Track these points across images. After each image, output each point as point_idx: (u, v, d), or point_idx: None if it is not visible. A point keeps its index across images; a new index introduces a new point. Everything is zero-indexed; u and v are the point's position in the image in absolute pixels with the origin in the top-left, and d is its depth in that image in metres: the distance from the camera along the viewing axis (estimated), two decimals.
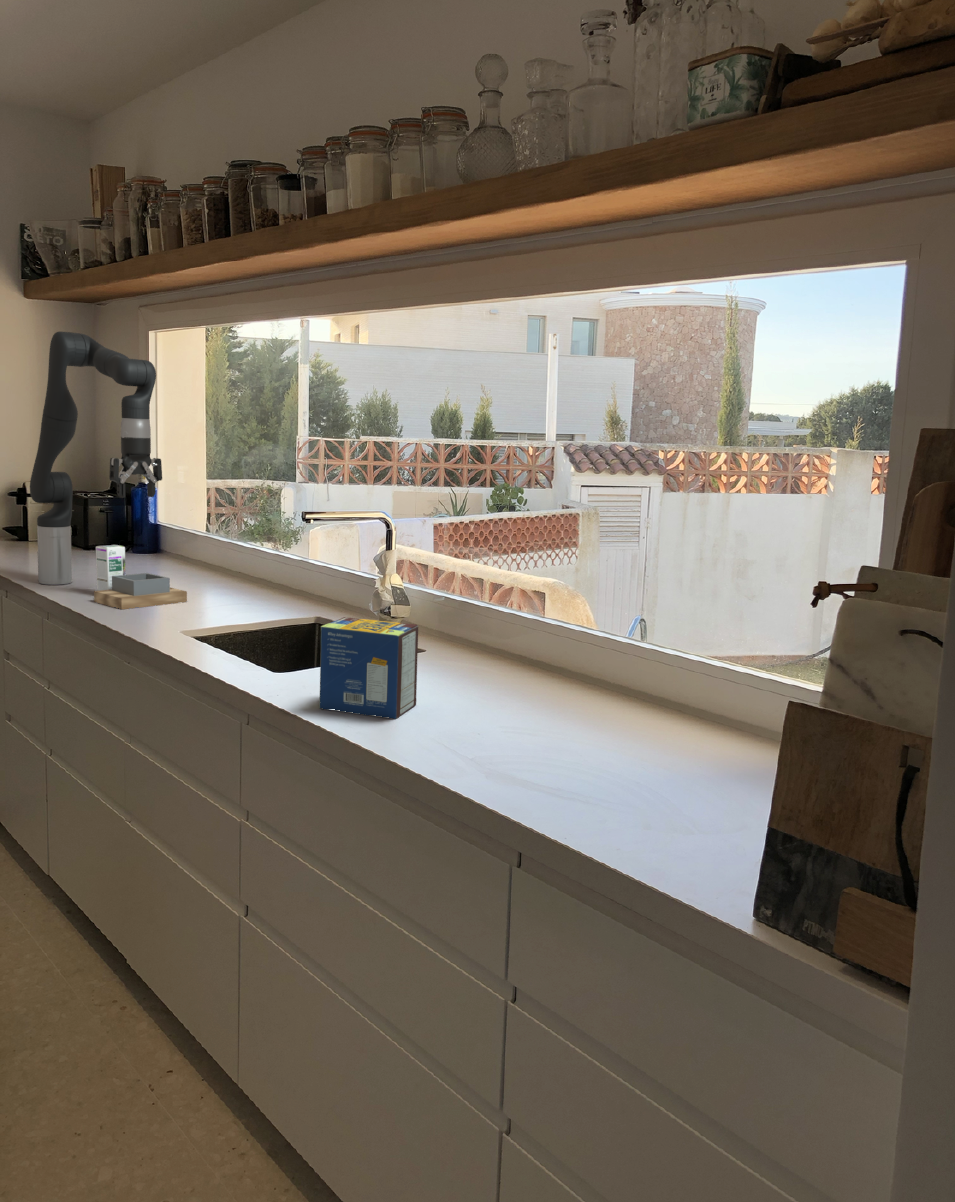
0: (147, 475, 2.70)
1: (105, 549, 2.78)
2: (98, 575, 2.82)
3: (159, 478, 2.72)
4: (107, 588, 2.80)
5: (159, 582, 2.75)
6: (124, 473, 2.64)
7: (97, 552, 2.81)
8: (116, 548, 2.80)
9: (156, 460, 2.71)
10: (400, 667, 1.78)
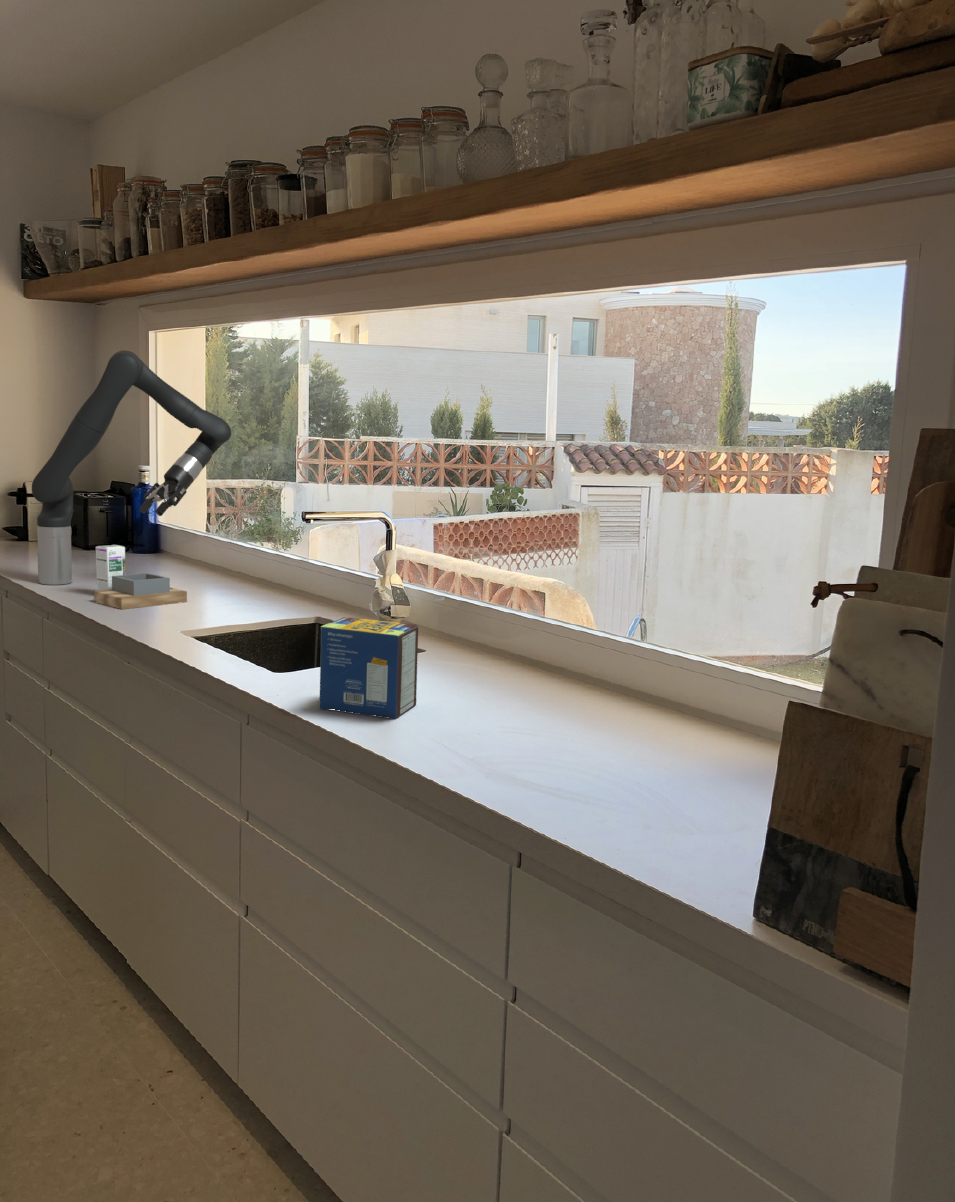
0: (157, 499, 2.94)
1: (105, 549, 2.78)
2: (98, 575, 2.82)
3: None
4: (107, 588, 2.80)
5: (159, 582, 2.75)
6: None
7: (97, 552, 2.81)
8: (116, 548, 2.80)
9: None
10: (400, 667, 1.78)
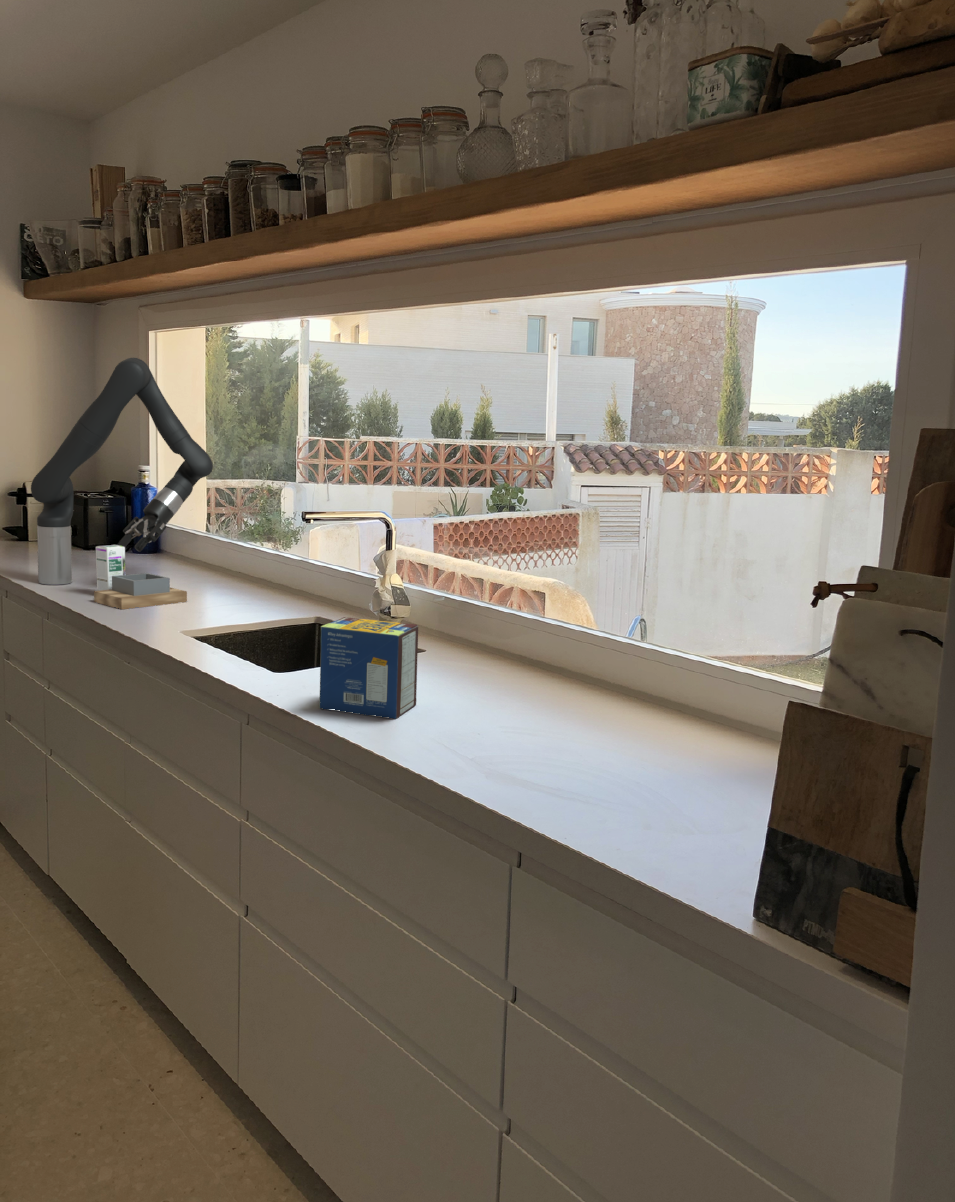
0: (137, 533, 2.91)
1: (105, 549, 2.78)
2: (98, 575, 2.82)
3: None
4: (107, 588, 2.80)
5: (159, 582, 2.75)
6: None
7: (97, 552, 2.81)
8: (116, 548, 2.80)
9: None
10: (400, 667, 1.78)
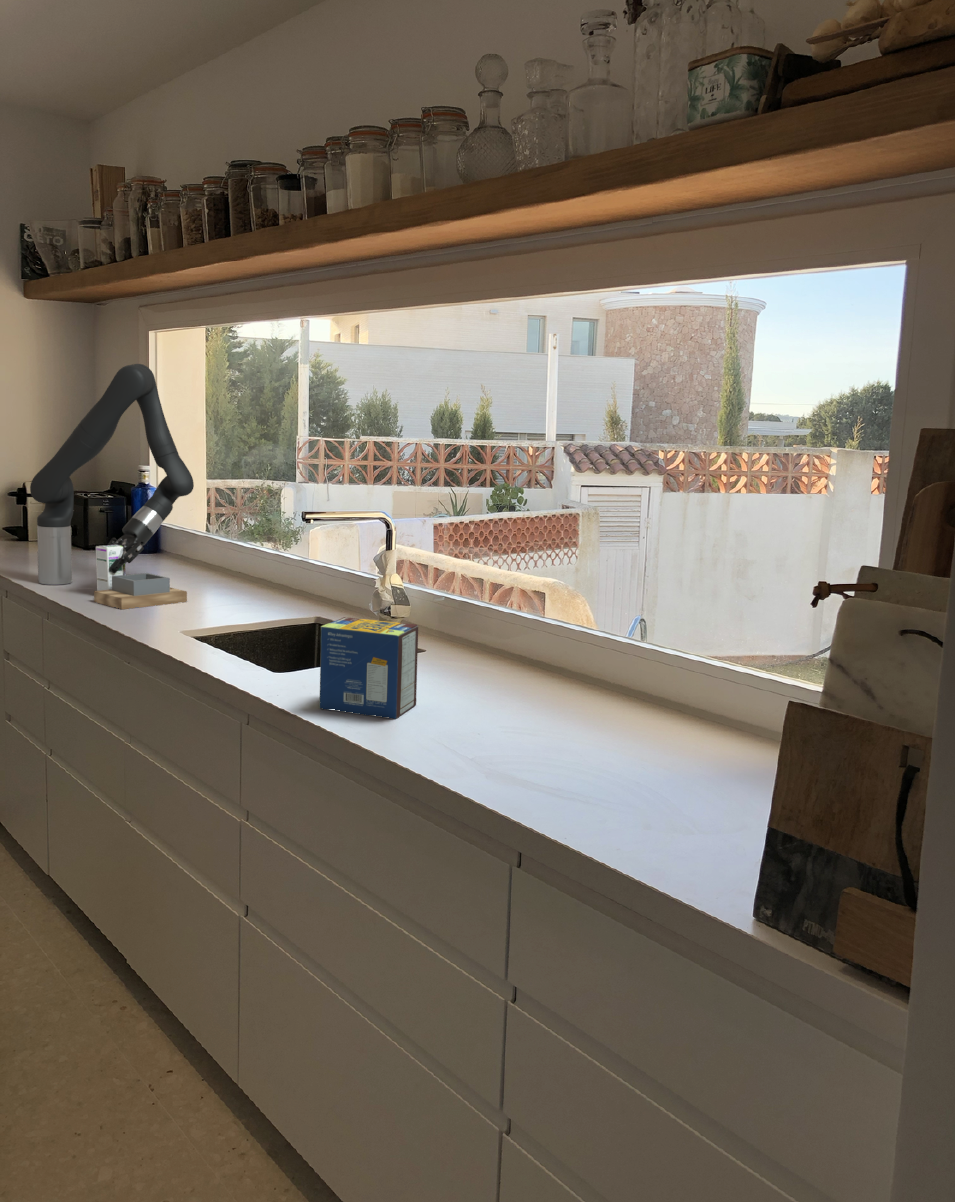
0: None
1: (105, 549, 2.78)
2: (98, 575, 2.82)
3: None
4: (107, 588, 2.80)
5: (159, 582, 2.75)
6: (128, 555, 2.82)
7: (97, 552, 2.81)
8: (116, 548, 2.80)
9: None
10: (400, 667, 1.78)
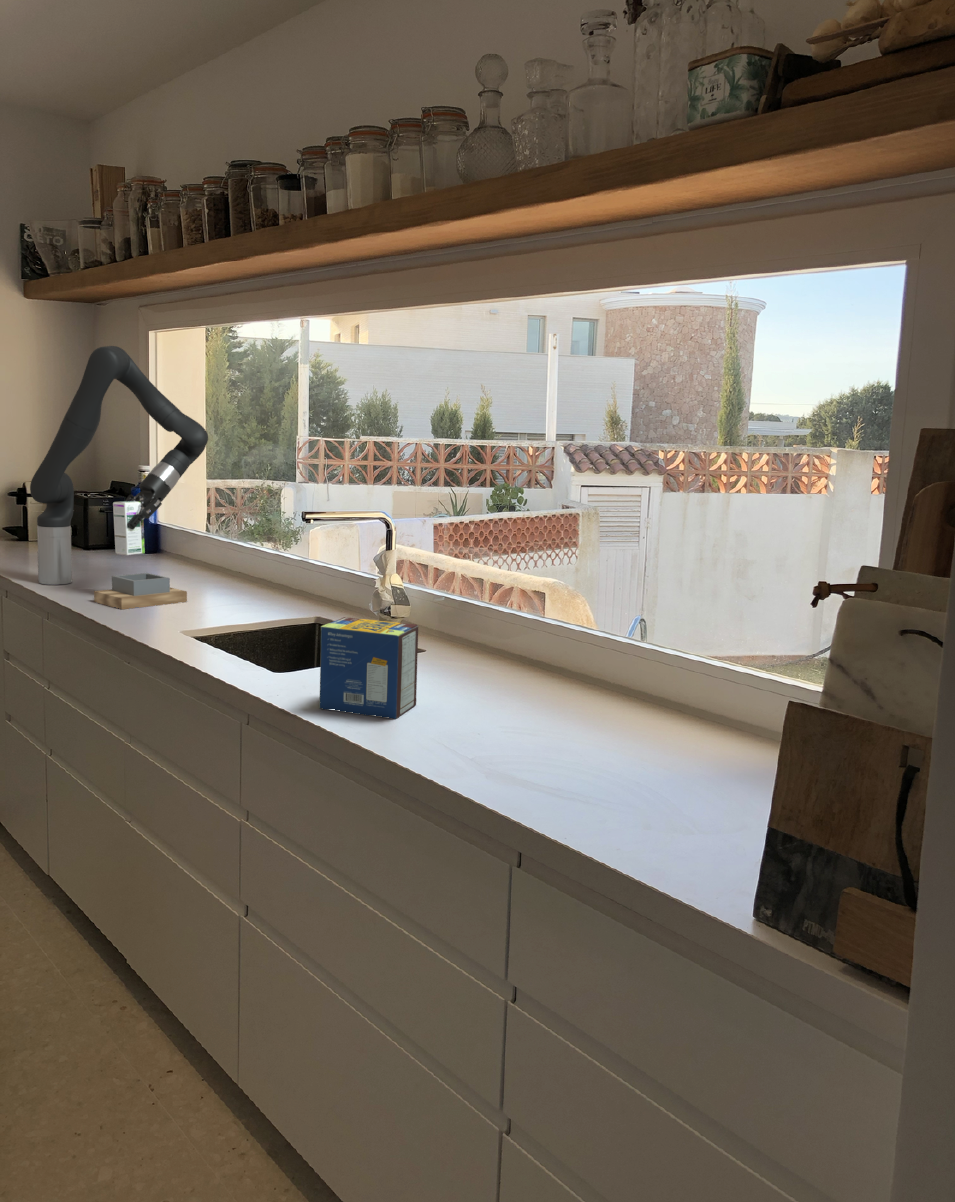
0: None
1: (123, 504, 2.73)
2: (116, 532, 2.76)
3: None
4: (125, 544, 2.75)
5: (159, 582, 2.75)
6: (146, 511, 2.77)
7: (114, 508, 2.75)
8: (134, 503, 2.75)
9: None
10: (400, 667, 1.78)
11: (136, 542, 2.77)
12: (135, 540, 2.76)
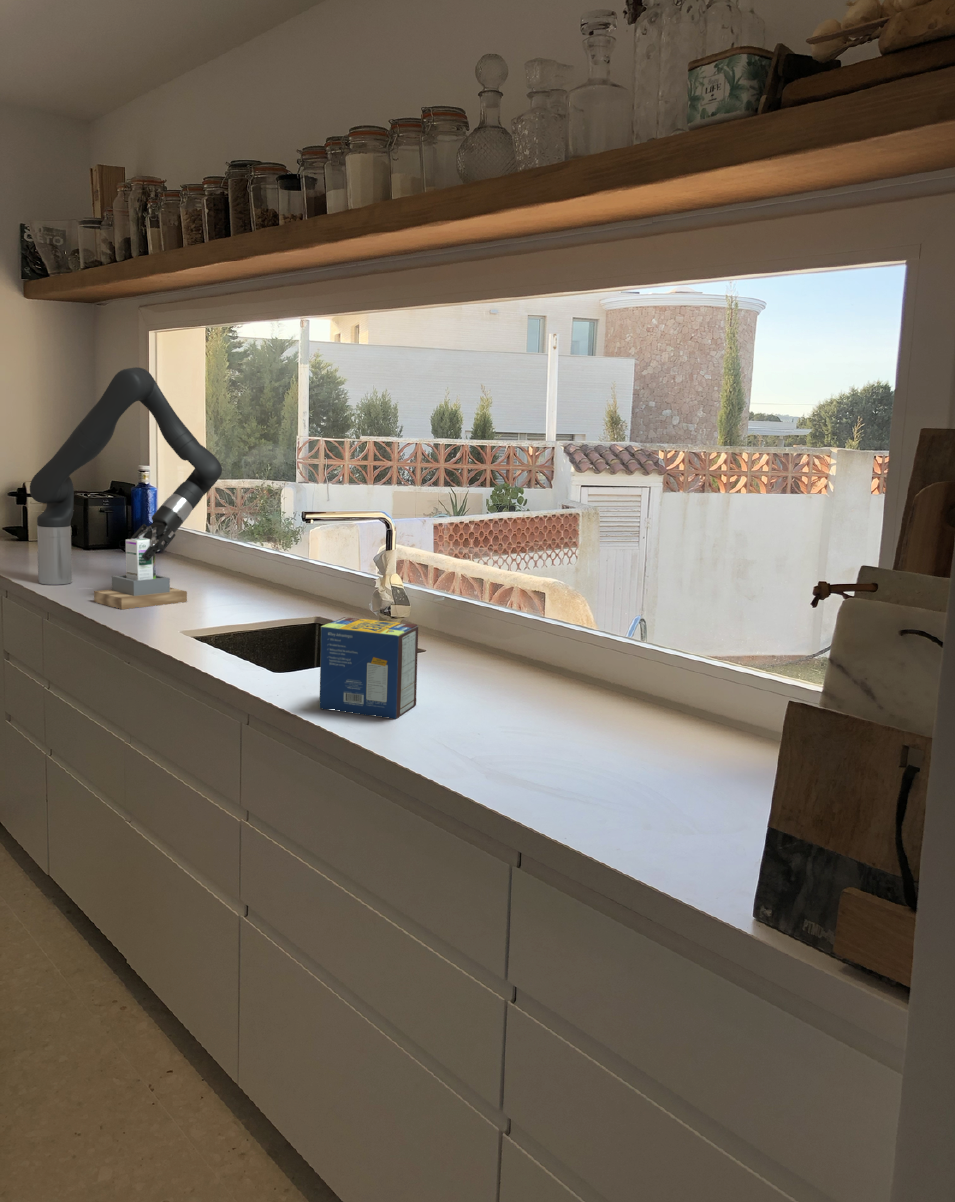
0: None
1: (135, 542, 2.72)
2: (128, 569, 2.76)
3: None
4: None
5: (159, 582, 2.75)
6: (160, 543, 2.75)
7: (127, 545, 2.75)
8: (146, 541, 2.74)
9: None
10: (400, 667, 1.78)
11: None
12: (146, 577, 2.75)
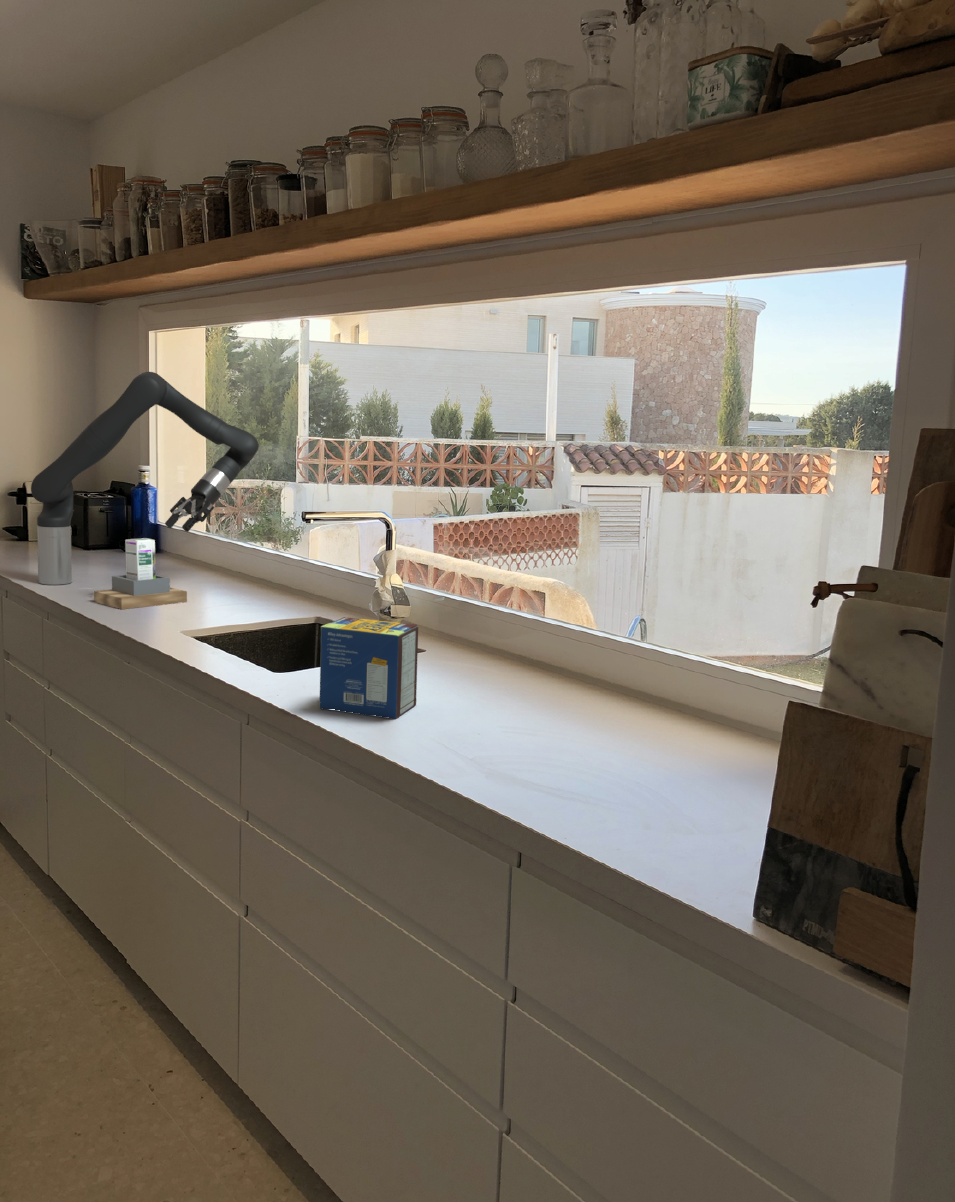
0: (184, 513, 2.90)
1: (135, 542, 2.72)
2: (127, 569, 2.76)
3: None
4: None
5: (159, 582, 2.75)
6: None
7: (127, 545, 2.75)
8: (146, 541, 2.74)
9: None
10: (400, 667, 1.78)
11: None
12: (146, 577, 2.75)
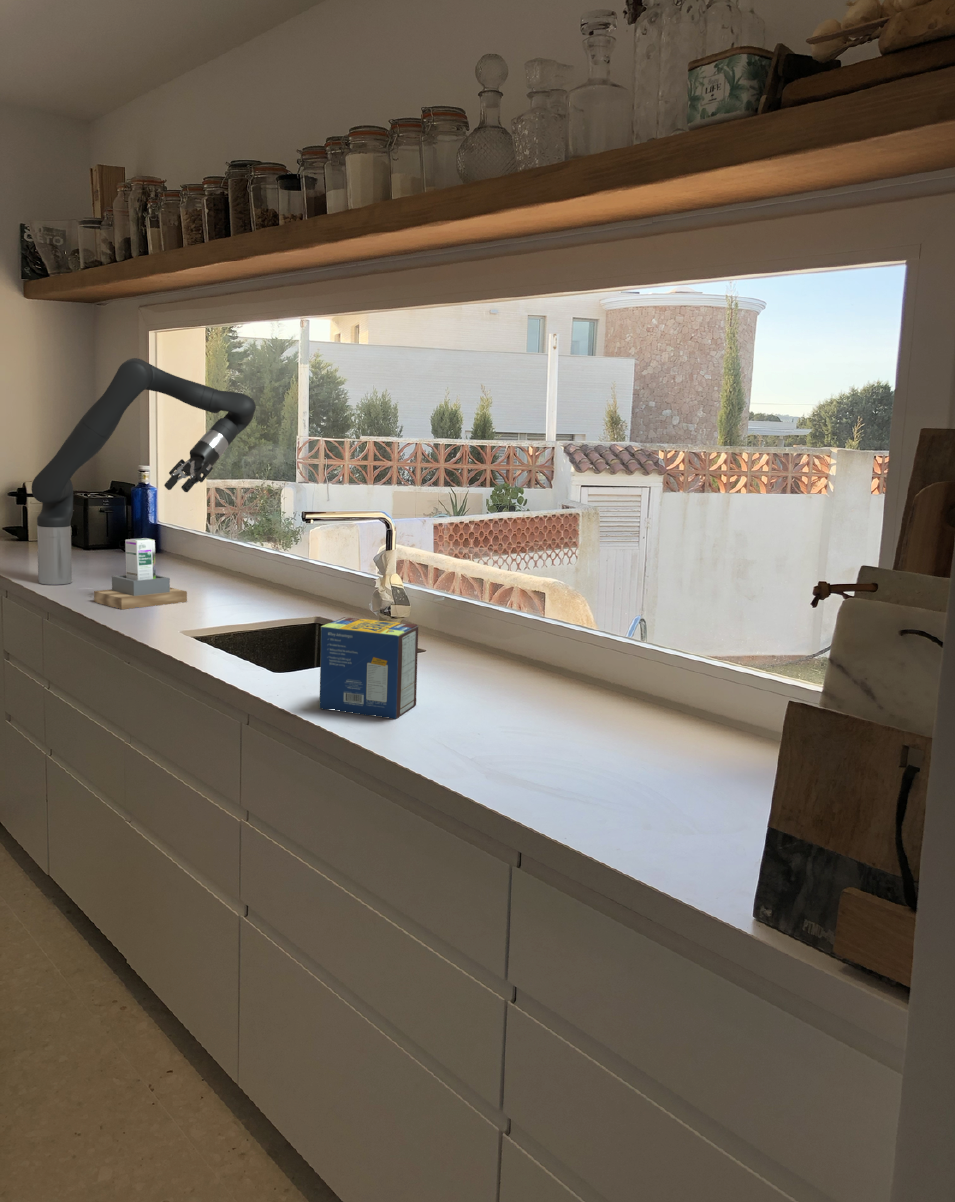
0: (183, 475, 2.90)
1: (135, 542, 2.72)
2: (127, 569, 2.76)
3: None
4: None
5: (159, 582, 2.75)
6: None
7: (127, 545, 2.75)
8: (146, 541, 2.74)
9: None
10: (400, 667, 1.78)
11: None
12: (146, 577, 2.75)
